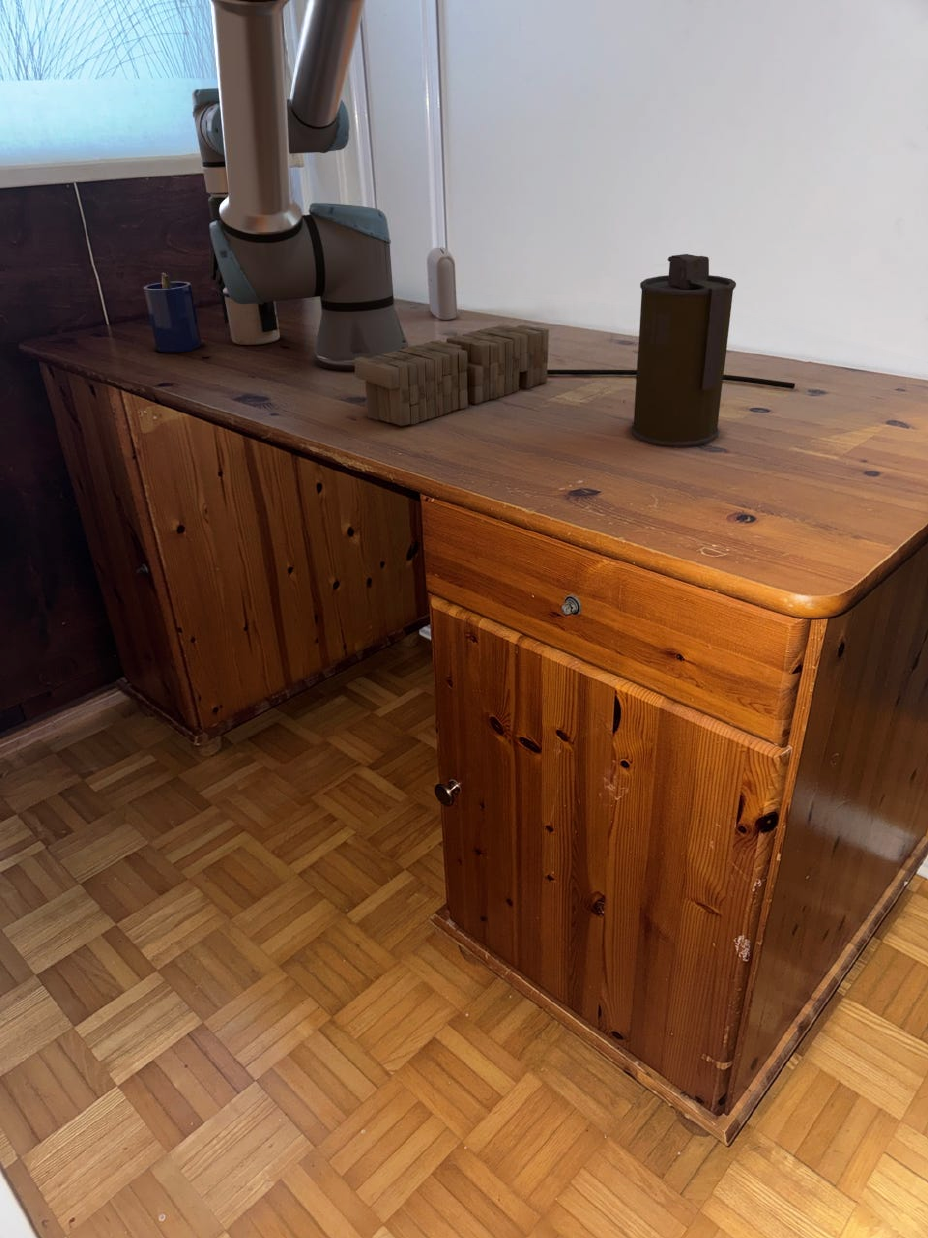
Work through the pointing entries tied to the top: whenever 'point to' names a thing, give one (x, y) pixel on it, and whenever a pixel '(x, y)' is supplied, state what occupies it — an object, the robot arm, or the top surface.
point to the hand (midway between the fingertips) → (250, 326)
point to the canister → (681, 354)
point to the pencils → (166, 281)
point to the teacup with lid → (248, 323)
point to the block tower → (453, 372)
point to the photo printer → (442, 284)
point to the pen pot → (173, 317)
